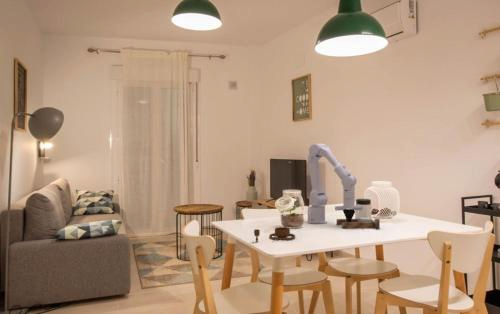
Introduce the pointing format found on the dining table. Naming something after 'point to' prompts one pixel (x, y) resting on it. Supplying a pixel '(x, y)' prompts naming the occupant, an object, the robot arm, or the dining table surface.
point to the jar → (366, 208)
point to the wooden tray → (358, 224)
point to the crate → (364, 219)
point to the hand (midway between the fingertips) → (348, 223)
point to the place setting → (278, 234)
